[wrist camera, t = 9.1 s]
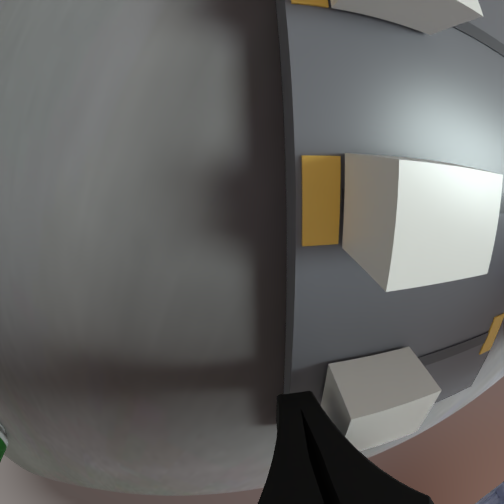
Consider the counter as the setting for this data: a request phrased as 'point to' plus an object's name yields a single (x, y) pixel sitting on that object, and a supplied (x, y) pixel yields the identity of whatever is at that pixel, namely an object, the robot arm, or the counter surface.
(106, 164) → the counter surface
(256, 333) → the counter surface
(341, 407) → the switch
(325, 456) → the robot arm
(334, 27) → the switch panel
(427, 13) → the white block
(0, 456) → the soda can
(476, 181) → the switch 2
